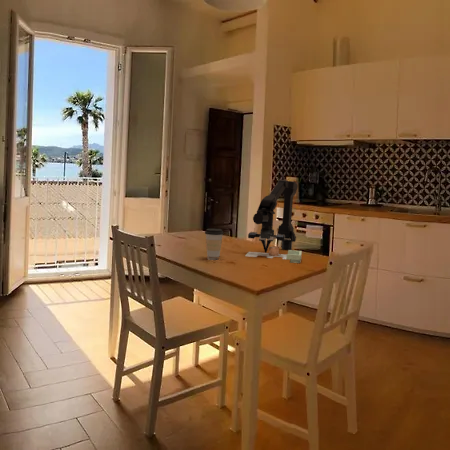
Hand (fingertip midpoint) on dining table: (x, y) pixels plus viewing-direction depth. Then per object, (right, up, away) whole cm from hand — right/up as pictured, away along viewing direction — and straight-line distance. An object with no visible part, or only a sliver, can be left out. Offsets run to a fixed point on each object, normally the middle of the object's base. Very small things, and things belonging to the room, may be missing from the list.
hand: (265, 252), depth 243 cm
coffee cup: (-27, -3, -10) cm, 29 cm away
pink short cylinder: (+4, -1, -1) cm, 4 cm away
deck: (+4, -3, -3) cm, 6 cm away
